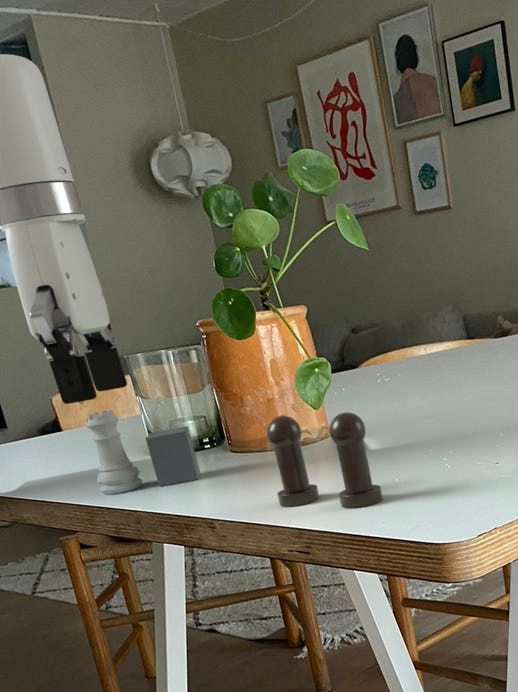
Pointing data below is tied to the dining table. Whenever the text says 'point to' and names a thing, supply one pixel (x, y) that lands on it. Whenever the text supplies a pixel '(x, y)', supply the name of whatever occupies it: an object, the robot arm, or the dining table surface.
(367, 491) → the pawn
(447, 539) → the dining table surface
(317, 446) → the dining table surface
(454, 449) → the dining table surface
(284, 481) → the pawn
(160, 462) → the grey block
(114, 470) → the rook chess piece
